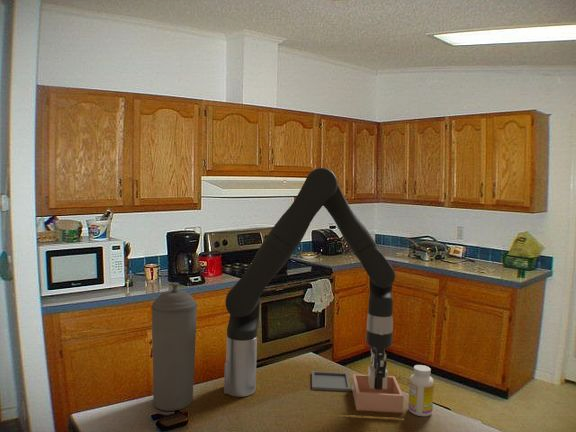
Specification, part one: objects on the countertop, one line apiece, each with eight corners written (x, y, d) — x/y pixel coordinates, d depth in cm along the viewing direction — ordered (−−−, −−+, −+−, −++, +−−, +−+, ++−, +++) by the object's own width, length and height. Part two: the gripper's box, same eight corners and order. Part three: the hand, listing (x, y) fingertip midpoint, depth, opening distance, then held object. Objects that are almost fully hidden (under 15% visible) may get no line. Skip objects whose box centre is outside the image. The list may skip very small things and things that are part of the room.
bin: (356, 412, 128) (357, 393, 128) (351, 391, 141) (352, 374, 141) (402, 414, 128) (403, 395, 127) (393, 393, 141) (394, 376, 140)
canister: (201, 394, 136) (203, 279, 133) (187, 415, 123) (189, 289, 121) (160, 391, 137) (161, 277, 134) (142, 411, 124) (143, 286, 122)
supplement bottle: (433, 409, 131) (436, 366, 130) (430, 419, 125) (433, 374, 124) (410, 403, 134) (412, 361, 133) (406, 413, 128) (408, 369, 127)
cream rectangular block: (369, 388, 132) (370, 371, 132) (367, 382, 136) (368, 365, 136) (386, 388, 132) (387, 372, 132) (384, 382, 136) (385, 366, 136)
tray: (311, 391, 140) (312, 386, 140) (311, 375, 152) (311, 370, 152) (350, 393, 140) (350, 388, 140) (347, 376, 152) (347, 372, 151)
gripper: (363, 321, 140) (361, 374, 141) (369, 336, 126) (367, 396, 127) (388, 322, 140) (385, 376, 141) (397, 337, 125) (394, 397, 127)
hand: (377, 385), depth 134 cm, fingers closed on cream rectangular block, 4 cm apart
